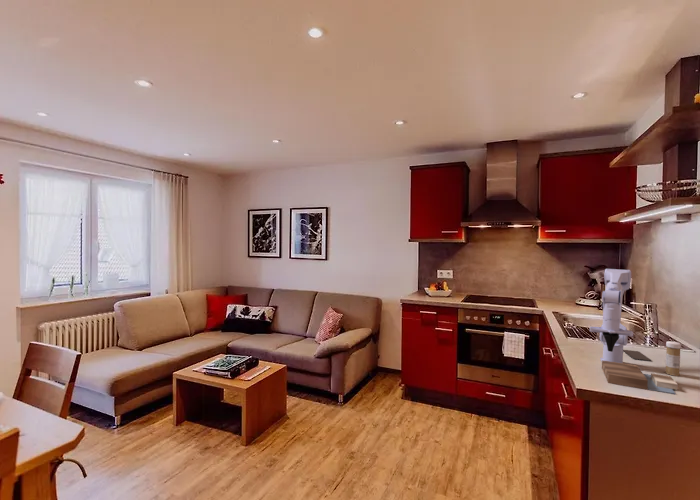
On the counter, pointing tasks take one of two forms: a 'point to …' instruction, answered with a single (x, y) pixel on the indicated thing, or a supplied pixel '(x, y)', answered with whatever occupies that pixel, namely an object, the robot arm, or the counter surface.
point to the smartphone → (637, 355)
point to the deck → (624, 374)
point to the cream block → (664, 381)
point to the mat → (654, 388)
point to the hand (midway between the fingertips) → (610, 350)
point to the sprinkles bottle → (673, 358)
